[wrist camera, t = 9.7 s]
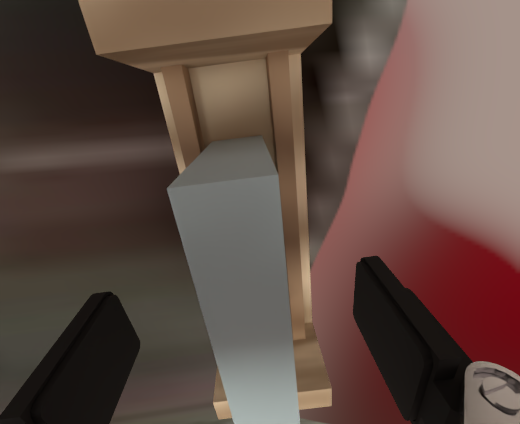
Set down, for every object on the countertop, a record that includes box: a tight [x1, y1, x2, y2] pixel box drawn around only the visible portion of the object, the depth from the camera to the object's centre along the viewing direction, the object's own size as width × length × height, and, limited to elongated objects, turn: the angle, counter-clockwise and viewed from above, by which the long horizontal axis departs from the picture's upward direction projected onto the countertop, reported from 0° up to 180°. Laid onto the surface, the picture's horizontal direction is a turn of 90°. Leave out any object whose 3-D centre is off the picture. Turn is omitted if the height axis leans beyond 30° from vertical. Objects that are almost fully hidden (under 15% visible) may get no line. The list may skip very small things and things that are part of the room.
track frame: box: [78, 0, 332, 419], centre depth 15 cm, size 24×8×6 cm, turn 7°
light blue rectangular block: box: [167, 135, 300, 424], centre depth 13 cm, size 12×3×9 cm, turn 7°
